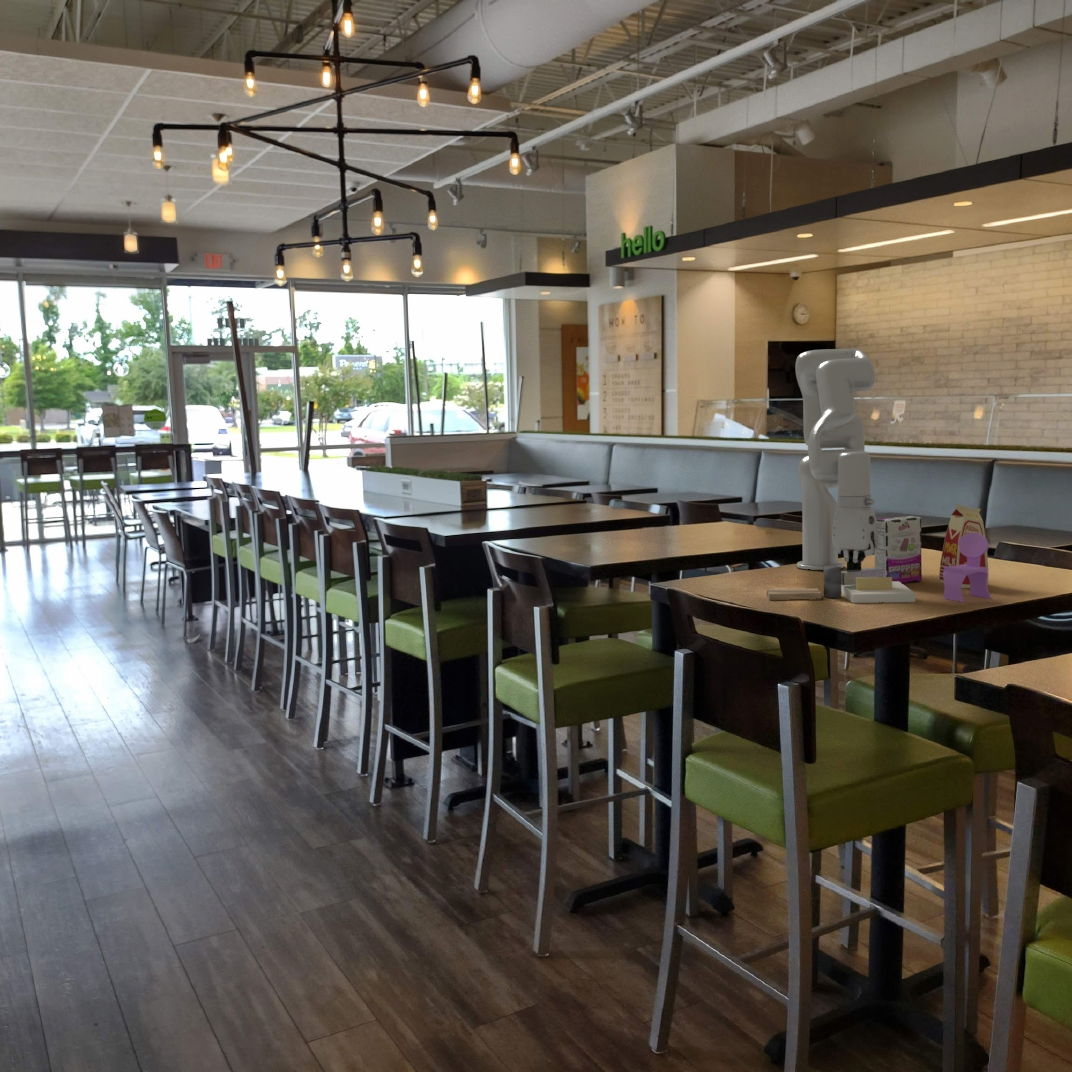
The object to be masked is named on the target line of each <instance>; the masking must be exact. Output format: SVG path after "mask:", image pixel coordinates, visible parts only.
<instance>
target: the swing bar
mask: <svg viewBox="0 0 1072 1072" xmlns="http://www.w3.org/2000/svg"><path fill="white" fill-rule="evenodd" d="M863 577H883V568H878V567H875V566H874V567H867V568H861V569H857V570H849V571H847V570H841V585H844V586H845V585H853V584H856V578H863Z"/></svg>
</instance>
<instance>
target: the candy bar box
mask: <svg viewBox="0 0 1072 1072" xmlns="http://www.w3.org/2000/svg"><path fill="white" fill-rule="evenodd" d="M876 523H877V535H878V545H877V547H876V548H874V551H875V554H874V567H878V568H883V577H892V581H899V582H900V583H903V584H909V583H910V584H911V583H916V582H917V583H919V582H922V580H923V579H922V576H923V575H922V571H923V570H922V517H921V516H916V515H915V516H914V515H907V516H906V515H905V516H895V517H888V518H879V519H878V518H876Z"/></svg>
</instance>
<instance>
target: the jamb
mask: <svg viewBox="0 0 1072 1072" xmlns="http://www.w3.org/2000/svg"><path fill="white" fill-rule="evenodd" d="M841 571H842V568H841V567H837V566H827V567H824V570H823V598H825V597H828V598H827V599H840V598H842V592H841ZM766 597H767V598H768V600H769V601H791V600H790V599H808V598H810V599H809V600H822V599H821V598H822V592H821V590H820V589H819V588H770V589H767V588H766ZM816 598H818V599H816ZM819 598H820V599H819Z"/></svg>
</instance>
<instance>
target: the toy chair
mask: <svg viewBox="0 0 1072 1072" xmlns="http://www.w3.org/2000/svg"><path fill="white" fill-rule="evenodd" d="M985 537H986V536H985ZM985 537H984V536H983V535H982V534H979V533H969V534H966V535H964V536H962V537H961V538H960V539H959V542H958V545H959V549H960V553H962V554H963V555H964V556H966V557H967V564H962V565H957V566H947V567H944V572H943V578H944V584H943V585H944V591H943V597H942V599H943V600H947V599H949V600H948V601H952V600H955V601H954V602H957V601H960V602H959V603H962V602H966V600H965V598H964V595H963V592H962V591H963V590H962V588H961V586H962V583H963V581H964V579H965V577H966V576H967V575H968V577H969V581H970V588H969V591H968V595H969V596H972V595H973V597H978V598H983V599H989V600H992V599H993V597H992V596H991V594H990V592H989V589H988V586H987V578H988V579H989V571H988V572H987V567H980V559H981V555H982V554H984V553H985V552H986V551H987V552H988V550H989V541H988V540H987V538H985Z"/></svg>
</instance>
